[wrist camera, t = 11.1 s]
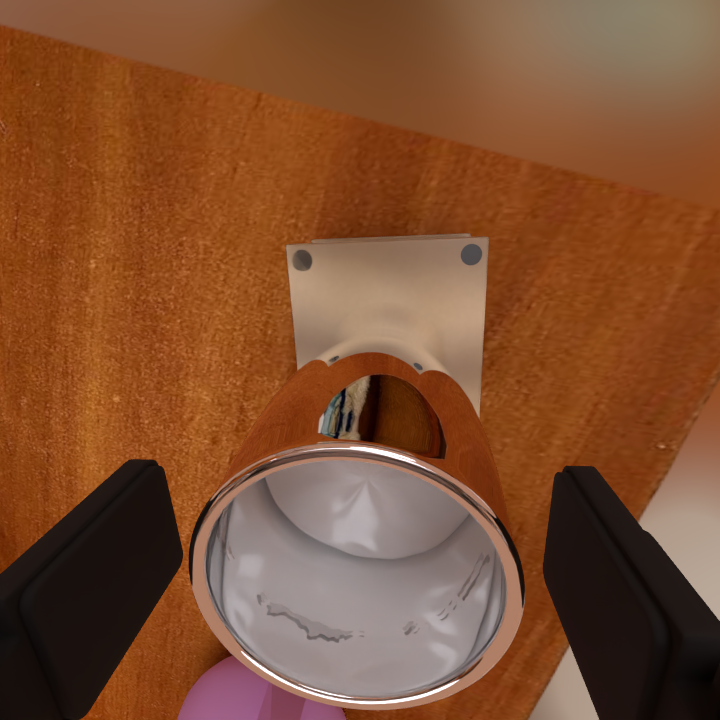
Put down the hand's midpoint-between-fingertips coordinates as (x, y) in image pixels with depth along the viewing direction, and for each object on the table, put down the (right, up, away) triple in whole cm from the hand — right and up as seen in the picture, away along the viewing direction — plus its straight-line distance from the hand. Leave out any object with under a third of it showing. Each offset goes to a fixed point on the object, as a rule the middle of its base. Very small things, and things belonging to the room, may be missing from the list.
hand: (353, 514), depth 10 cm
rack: (+3, +7, +21) cm, 22 cm away
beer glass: (+2, +4, +12) cm, 13 cm away
